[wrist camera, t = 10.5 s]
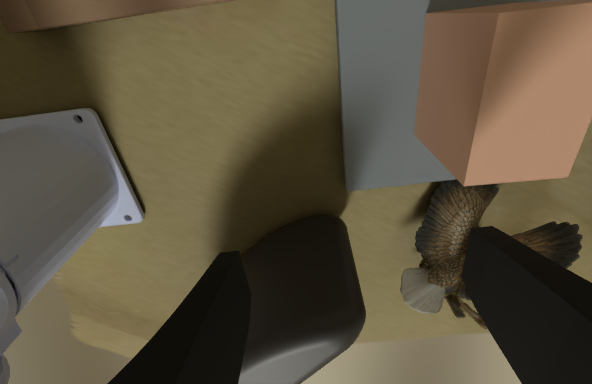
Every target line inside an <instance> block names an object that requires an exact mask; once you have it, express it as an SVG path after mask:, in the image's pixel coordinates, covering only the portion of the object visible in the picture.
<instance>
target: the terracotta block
mask: <svg viewBox="0 0 592 384" xmlns="http://www.w3.org/2000/svg"><path fill="white" fill-rule="evenodd" d="M591 119H592V0H561V1H540V2H519V3H507V4H499V5H490V6H482V7H474V8H465V9H457V10H448V11H440V12H431V13H426V16H425V27H424V37H423V47H422V57H421V67H420V77H419V88H418V98H417V108H416V118H415V128H414V135H415V136H416V137H417V138H418V139H419V140H420V141H421V142H422V144H423V145H424V146H425V147H426V148H427V149H428V150H429V151H430V152H431V153H432V154H433V155H434V156H435V157H436V158H437V159H438V160H439V161H440V162H441V163H442V164H443V165H444V166H445V167H446V169H447V170H448V171H449V172H450V173H451V174H452V175H453V176H454V177H455V178H456V179H457V180H458V181H459V182H460V183H461V184H462V185H463V186H473V185H485V184H497V183H508V182H520V181H531V180H543V179H554V178H566V177H568V176H569V173H570V171H571V168H572V166H573V164H574V161H575V159H576V156H577V154H578V151H579V149H580V146H581V144H582V141H583V139H584V136H585V134H586V131H587V129H588V126H589V124H590V121H591Z"/></svg>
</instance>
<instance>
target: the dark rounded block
mask: <svg viewBox="0 0 592 384" xmlns="http://www.w3.org/2000/svg"><path fill="white" fill-rule="evenodd" d="M241 261H242V264H243V267H244V271H245V274H246V277H247V281H248V284H249V288H250V291H251V294H252V297H251V312H250V324H249V330H248V336H247V341H246V346H245V352H244V357H243V362H242V367H241V372H240V377H239V382H238V384H301V383H302V382H303V381H304V380H306V379H307V378H309V377H310V376H311V375H313V374H314V373H315V372H317V371H318V370H320V369H321V368H322V367H323V366H325V365H326V364H328V363H329V362H330V361H332V360H333V359H334V358H336V357H337V356H339V355H340V354H341V353H343V352H344V351H345V350H347V349H348V348H349V347H350V346H351V345H352V344H353V343H354V341H355V340H356V339H357V337H358V336H359V334H360V332H361V330H362V328H363V325H364V323H365V318H366V311H365V306H364V301H363V297H362V293H361V288H360V284H359V280H358V275H357V271H356V267H355V262H354V258H353V253H352V249H351V245H350V240H349V236H348V232H347V227H346V225H345V223H344V222H343V221H342V220H341V219H340V218H338V217H336V216H332V215H317V216H312V217H309V218H305V219H302V220H299V221H296V222H294V223H291V224H289V225H287V226H285V227H283V228H281V229H279V230H277V231H275V232H273V233H271V234H270V235H268V236H267V237H265V238H264V239H262V240H261V241H259V242H258V243H257V244H255V245H254V246H253V247H252V248H250V249H249V250H248V251H247V252H246V253H245V254H244V255H243V256H242V257H241Z"/></svg>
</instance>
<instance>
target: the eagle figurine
mask: <svg viewBox="0 0 592 384" xmlns="http://www.w3.org/2000/svg"><path fill="white" fill-rule="evenodd" d="M498 191H499V188H498V187H497V186H495V184H485V185H473V186H463V185H462V184H461V183H460V182H459V181H458V180H457V179H454V180H445V181H444V182H443V183H442V184H441V185H440V187H439V188H437V189H436V190H435V193H434V195H432V197H431V204H430V205H429V207H428V208H427V215H426V216H425V217H424V221H423V222H422V227H419V230H418V231H416V237H415V239H416V243H415V246H416V247H417V251H418V252H420V253H421V256H422V257H423V258H424V259H426V261H425V263H426V264H427V265H426V264H423V265H419V268H409V269H405V270H404V271H403V274H402V277H401V293H402V295H403V298H404V301H405V303H407V304H408V305H409V306H410V308H412V309H414V310H417V311H419V312H423V313H427V314H430V313H437V312H438V311H439V310H440V309H441V307H442V303H443V299H444V298H445V299H446V300H447V302H448V304H449V306H450V307H451V309H452V311H453V313H454V315H455V316H456V317H457V318H465V317H466V316H465V314H464V313H463V312H465V313H466V314H468V315H469V316H470V317H472V318H473V319H474V320H475V321H476V322H477V323H478V324H479V325H480V326H481V327H483V328H484V329H487V326H486V325H485V323H484V321H483V320H482V318H481V317H480V315H479V314H478V313H476V312H475V311H474V310H472V309H471V308H470V307H469V306H468V305H467V304H466V303H464V302H463V301H462V300H461V298H462V299H465V298H466V300H471V298H470V296H469V293H468V291H467V289H466V287H465V284H464V282H463V280H462V277H461V275H462V270H463V265H464V260H465V256H466V251H467V246H468V241H469V236H470V231H471V228H475V227H476V226H477V224H478V222H479V221H480V219H481V217H482V215H483V213H484V211H485V209H486V208H487V206H488V205H489V204H490V202H491V201H492V200H493V198H494V197H495V196H496V194H497V193H498ZM578 230H579V225H578V224H573V225H570V224H569V223H568V222H563V223H560V224H558V225H557V224H556V222H554V221H553V222H550V223H548V224H545V225H542V226H540V227H537V228H535V229H532V230H529V231H526V232H524V233H519V234H515V235H513V236H511V237H513V238H514V239H516V240H518V241H519V242H521V243H523V244H525V245H526V246H528V247H530V248H531V249H533V250H535V251H536V252H538V253H540V254H542V255H543V256H545V257H547V258H548V259H550V260H552V261H554V262H555V263H557V264H559V265H561V266H562V267H564V268H566V269H567V268H568V267H569V266H571V265H572V262H574V261H575V260H577V259H578V258H579V257H580V256H579V254H578V252H579V251H580V250H581V248H582V246H581V244H580V241H581V240H582V235H581V234H577V233H578ZM460 297H461V298H460ZM471 301H472V300H471Z"/></svg>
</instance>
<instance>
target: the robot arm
mask: <svg viewBox="0 0 592 384" xmlns="http://www.w3.org/2000/svg"><path fill="white" fill-rule="evenodd" d="M77 115H79V116H81V118H82V120H83V121H81V120H79V119H78V117H77ZM127 215H129V216H131V218H130V217H128V216H127ZM143 219H144V213H143V210H142V208H141V206H140V204H139V202H138V200H137V198H136V196H135V193H134V191H133V189H132V187H131V185H130V183H129V181H128V178H127V176H126V174H125V172H124V170H123V168H122V166H121V164H120V161H119V159H118V157H117V155H116V153H115V151H114V149H113V146H112V144H111V142H110V140H109V138H108V136H107V134H106V132H105V129H104V127H103V125H102V123H101V121H100V119H99V117H98V115H97V113H96V112H95V111H94V110H93V109H90V108H80V109H73V110H65V111H58V112H50V113H43V114H36V115H28V116H21V117H14V118H6V119H0V384H8V381H9V377H10V367H9V364H8V361H7V359H6V357H5V356H4V355H3V353H4V352H5V351H6V349H7V348H8V347H9V346H10V345H11V344H12V342H13V341H14V340H15V339H16V338H17V337H18V336H19V334H20V333H21V332H22V330H21V328H20V327H19V326H18V324H17V322H16V320H15V317H16V315H17V314H18V313H19V312H20V311H21V310H22V309H23V308H24V307H25V306H26V305H27V304H28V303H29V302H30V300H31V299H32V298H33V297H34V296H35V295H36V294H37V293H38V292H39V291H40V290H41V289H42V288H43V286H44V285H45V284H46V283H47V282H48V281H49V280H50V279H51V278H52V277H53V276H54V275H55V274H56V272H57V271H58V270H59V269H60V268H61V267H62V266H63V265H64V264H65V263H66V262H67V261H68V260H69V258H70V257H71V256H72V255H73V254H74V253H75V252H76V251H77V250H78V249H79V248H80V247H81V246H82V244H83V243H84V242H85V241H86V240H87V239H88V238H89V237H90V236H91V235H92V234H93V233H94V232H95V230H96V229H97V228H98V227H104V226H114V225H123V224H132V223H139V222H141V221H142V220H143ZM461 277H462V280H463V282H464V284H465V287H466V289H467V291H468V293H469V296H470V298H471V300H472V302H473V304H474V306H475V308H476V310H477V311H478V313H479V315H480V317H481V318H482V320H483V321H484V323H485V325H486V326H487V328H488V330H489V331H490V333H491V335H492V336H493V338H494V339H495V341H496V343H497V344H498V346H499V348H500V349H501V351H502V352H503V354H504V356H505V357H506V358H507V360H508V362H509V364H510V365H511V367H512V369H513V370H514V372H515V373H516V375H517V377H518V378H519V380H520V381H521V383H522V384H592V283H591V282H589V281H587V280H585V279H584V278H582V277H580V276H578V275H576V274H575V273H573V272H571V271H569V270H567V269H566V268H564V267H562V266H561V265H559V264H557V263H555V262H554V261H552V260H550V259H548V258H547V257H545V256H543V255H542V254H540V253H538V252H536V251H535V250H533V249H531V248H530V247H528V246H526V245H525V244H523V243H521V242H519V241H518V240H516V239H514V238H513V237H511V236H509V235H507V234H506V233H504V232H502V231H500V230H498V229H497V228H495V227H493V226H489V227H478V228H471V231H470V236H469V241H468V246H467V251H466V256H465V260H464V265H463V270H462V275H461ZM251 297H252V294H251V291H250V288H249V284H248V281H247V277H246V274H245V271H244V267H243V264H242V261H241V257H240V254H239V251H233V252H223V253H219V255H218V256H217V257H216V258H215V260H214V261H213V262H212V264H211V265H210V266H209V268H208V269H207V270H206V272H205V273H204V274H203V276H202V277H201V278H200V280H199V281H198V282H197V284H196V285H195V286H194V288H193V289H192V290H191V291H190V293H189V294H188V295H187V297H186V298H185V299H184V300H183V302H182V303H181V304H180V305H179V307H178V308H177V309H176V310H175V312H174V313H173V314H172V315H171V316H170V318H169V319H168V320H167V321H166V322H165V323H164V324H163V326H162V327H161V328H160V329H159V330H158V331H157V333H156V334H155V335H154V336H153V337H152V338H151V340H150V341H149V342H148V343H147V344H146V345H145V346H144V347H143V348H142V349H141V350H140V351H139V353H138V354H137V355H136V356H135V357H134V358H133V359H132V360H131V361H130V362H129V363H128V364H127V365H126V366H125V367H124V368H123V369H122V370H121V371H120V372H119V373H118V374H117V375H116V376H115V377H114V378H113V379H112V380H111V381H110V382H109V383H108V384H238V382H239V377H240V372H241V367H242V362H243V357H244V352H245V346H246V341H247V336H248V330H249V324H250V312H251Z"/></svg>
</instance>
